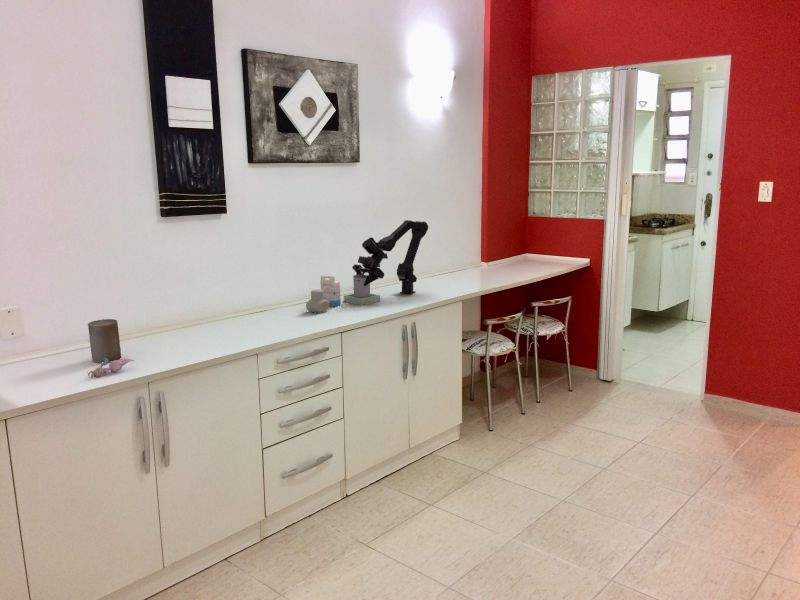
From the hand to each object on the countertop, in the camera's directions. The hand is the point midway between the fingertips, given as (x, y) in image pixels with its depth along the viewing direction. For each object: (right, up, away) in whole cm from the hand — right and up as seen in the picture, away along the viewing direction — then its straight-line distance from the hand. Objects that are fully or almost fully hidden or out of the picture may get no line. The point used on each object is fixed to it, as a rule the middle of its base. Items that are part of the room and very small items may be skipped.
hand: (359, 284), depth 330 cm
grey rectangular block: (+1, -6, +2) cm, 7 cm away
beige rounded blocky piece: (-18, -13, -19) cm, 30 cm away
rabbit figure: (-76, -32, -109) cm, 136 cm away
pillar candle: (-85, -29, -93) cm, 129 cm away
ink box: (-14, -10, -6) cm, 18 cm away
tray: (+1, -8, +3) cm, 9 cm away
